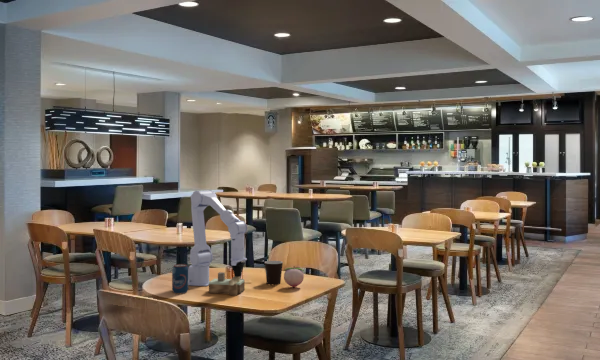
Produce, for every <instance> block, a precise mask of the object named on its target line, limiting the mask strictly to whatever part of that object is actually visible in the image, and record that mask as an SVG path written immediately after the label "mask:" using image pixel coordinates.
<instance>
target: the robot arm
mask: <svg viewBox="0 0 600 360" xmlns="http://www.w3.org/2000/svg"><path fill="white" fill-rule="evenodd" d="M190 202H191V203H190V204H191V206H190V207H191V211H190V212H191V220H192V232H193V240H194V241H193V242H194V245H193V247H192V248H191V249H190V250H189V251H190V253H189V254H190V255H189V261H190V264H191V265H189V266H188V286H194V287H195V286H196V287H198V286H199V287H200V286H201V287H207V286H208V287H209V282H210V281H211V280H210V265H211V263H212V261H213V259H214V256H213V252H212V250H211V249H212V248H211V247H210V246H209V245H208V244H207V238H206V237H207V236H206V235H207V234H206V227H205V226H206V225H205V214H204V211H205V209H206V208H207V207H209V206H210V207H211V208H212V209H213V210H214V211H216V212H217V214H218V215H220V220H221V222H223V223H224V224H225V226H227V229H228V233H229V234H230V239H231V240H230V241H231V242H230V243H231V244H230V245H231V249H230V250H231V253H230V254H231V258H230V261H231V262H230V267H231V269H232V271H233V277H234V276H240V279H242V273H243V269H244V267H245V264H246V262H244V261H247V260H248V258H247V257H245V233H247V231H248V225H247V224H246V223H247V222H246V221H244V220H240V218H238V217H237V216H236V215H235V214H234V212H233V211H232V210H230V209H226V208H225V207H224V205H223V204H222V203H221V201H220V200H219V199H218V197H217V194H216V193H215V192H214V191H213V190H212V189H209V190H208V189H207V190H194V191H193V192H192V193H191V195H190Z"/></svg>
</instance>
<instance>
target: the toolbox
mask: <svg viewBox="0 0 600 360" xmlns="http://www.w3.org/2000/svg"><path fill="white" fill-rule="evenodd" d="M241 280H245V279H244V278H241ZM245 286H246V285H245V281H244V282H243V283H242V284H241V285H237V284H234V285H219V284H209V285H208V294H217V295H218V294H219V295H220V294H221V295H224V294H225V295H229V296H233V297H234V296H238V295H242V293H243V292H244V291H245Z"/></svg>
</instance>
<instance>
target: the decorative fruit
mask: <svg viewBox="0 0 600 360" xmlns="http://www.w3.org/2000/svg"><path fill="white" fill-rule="evenodd" d="M284 271H285V272H284V273H283V279H284V281H285V283H286V284H287V285H288V286H290V287H291V288H296V287H298V286H299V285H301V284H302V283H303V281H304V278H305V277H304V276H305V275H304V272H305V270H304V269H303V268H301V267H286V268H285V269H284Z"/></svg>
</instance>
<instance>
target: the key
mask: <svg viewBox="0 0 600 360" xmlns="http://www.w3.org/2000/svg"><path fill="white" fill-rule="evenodd" d="M230 279H231V280H230V281H229V285H234V284H235V283H237V282H239V281H240V276H234V275H233V277H232V278H230Z"/></svg>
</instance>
